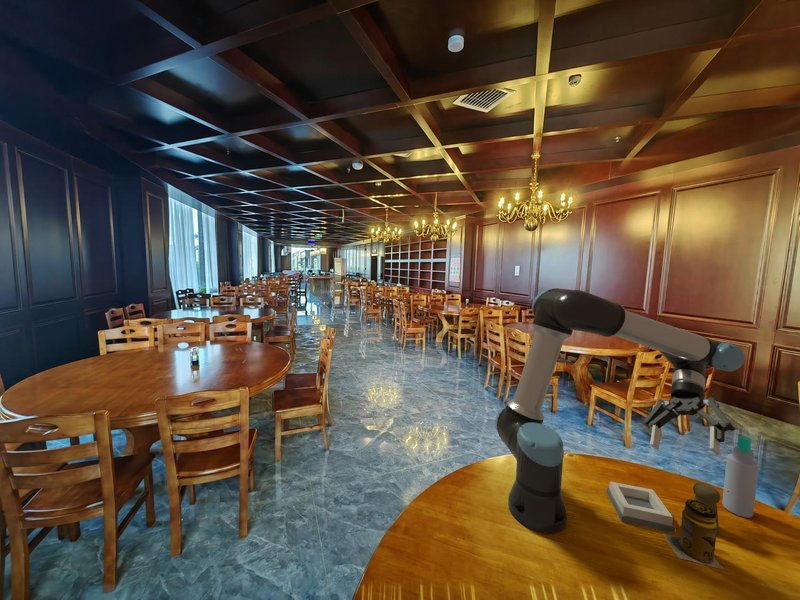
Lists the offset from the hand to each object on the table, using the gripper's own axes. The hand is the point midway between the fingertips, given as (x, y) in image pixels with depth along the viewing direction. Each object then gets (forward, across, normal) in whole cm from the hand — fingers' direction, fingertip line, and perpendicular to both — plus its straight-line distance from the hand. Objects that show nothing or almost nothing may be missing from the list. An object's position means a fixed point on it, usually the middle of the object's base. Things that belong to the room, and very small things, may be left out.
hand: (682, 449), depth 83 cm
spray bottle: (-2, +3, -30) cm, 30 cm away
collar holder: (+15, +14, -8) cm, 22 cm away
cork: (+10, +4, -18) cm, 22 cm away
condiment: (+21, +2, -10) cm, 23 cm away
